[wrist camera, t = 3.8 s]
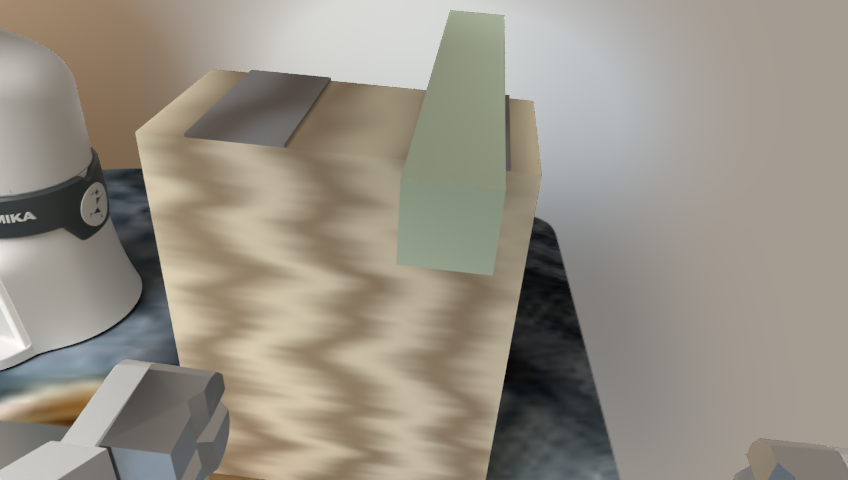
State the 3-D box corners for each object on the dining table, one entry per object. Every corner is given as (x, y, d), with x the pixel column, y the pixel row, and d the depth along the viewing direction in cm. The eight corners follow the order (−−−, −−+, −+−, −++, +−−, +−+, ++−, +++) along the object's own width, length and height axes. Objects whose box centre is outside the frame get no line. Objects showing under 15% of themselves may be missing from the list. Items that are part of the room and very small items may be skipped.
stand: (200, 471, 46) (134, 128, 31) (247, 371, 54) (212, 66, 40) (480, 508, 45) (542, 170, 30) (483, 401, 53) (533, 97, 39)
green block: (396, 264, 23) (400, 178, 21) (445, 63, 43) (450, 10, 41) (492, 275, 23) (506, 189, 21) (497, 68, 43) (504, 15, 41)
